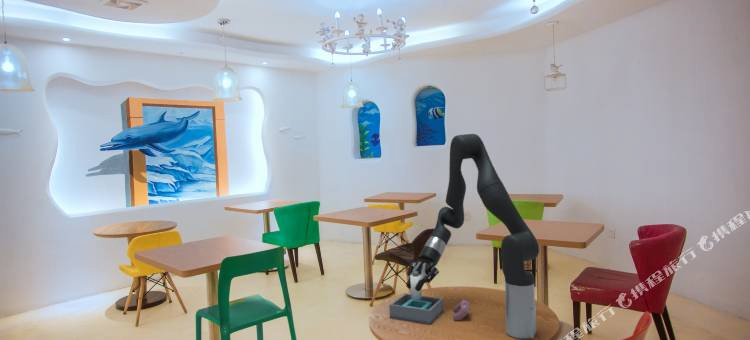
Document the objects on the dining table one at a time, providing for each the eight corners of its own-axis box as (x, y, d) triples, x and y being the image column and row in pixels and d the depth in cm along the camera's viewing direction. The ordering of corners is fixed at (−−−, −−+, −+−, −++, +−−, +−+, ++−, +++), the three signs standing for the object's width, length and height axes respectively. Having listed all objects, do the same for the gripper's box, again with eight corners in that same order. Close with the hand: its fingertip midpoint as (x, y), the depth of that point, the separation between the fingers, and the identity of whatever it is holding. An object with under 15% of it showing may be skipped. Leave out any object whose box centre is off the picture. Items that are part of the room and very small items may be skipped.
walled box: (443, 311, 169) (443, 298, 169) (430, 324, 157) (429, 310, 157) (405, 305, 177) (404, 293, 177) (389, 317, 165) (389, 304, 164)
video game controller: (463, 325, 159) (472, 309, 158) (452, 319, 160) (460, 303, 159) (463, 315, 169) (471, 299, 168) (452, 310, 169) (460, 294, 169)
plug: (423, 297, 168) (422, 270, 167) (419, 300, 164) (418, 273, 164) (413, 295, 170) (412, 269, 169) (409, 298, 166) (408, 272, 165)
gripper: (414, 242, 176) (393, 279, 169) (442, 248, 166) (421, 287, 158) (423, 253, 180) (403, 290, 172) (451, 259, 169) (431, 298, 162)
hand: (412, 288), depth 165 cm, fingers closed on plug, 4 cm apart
